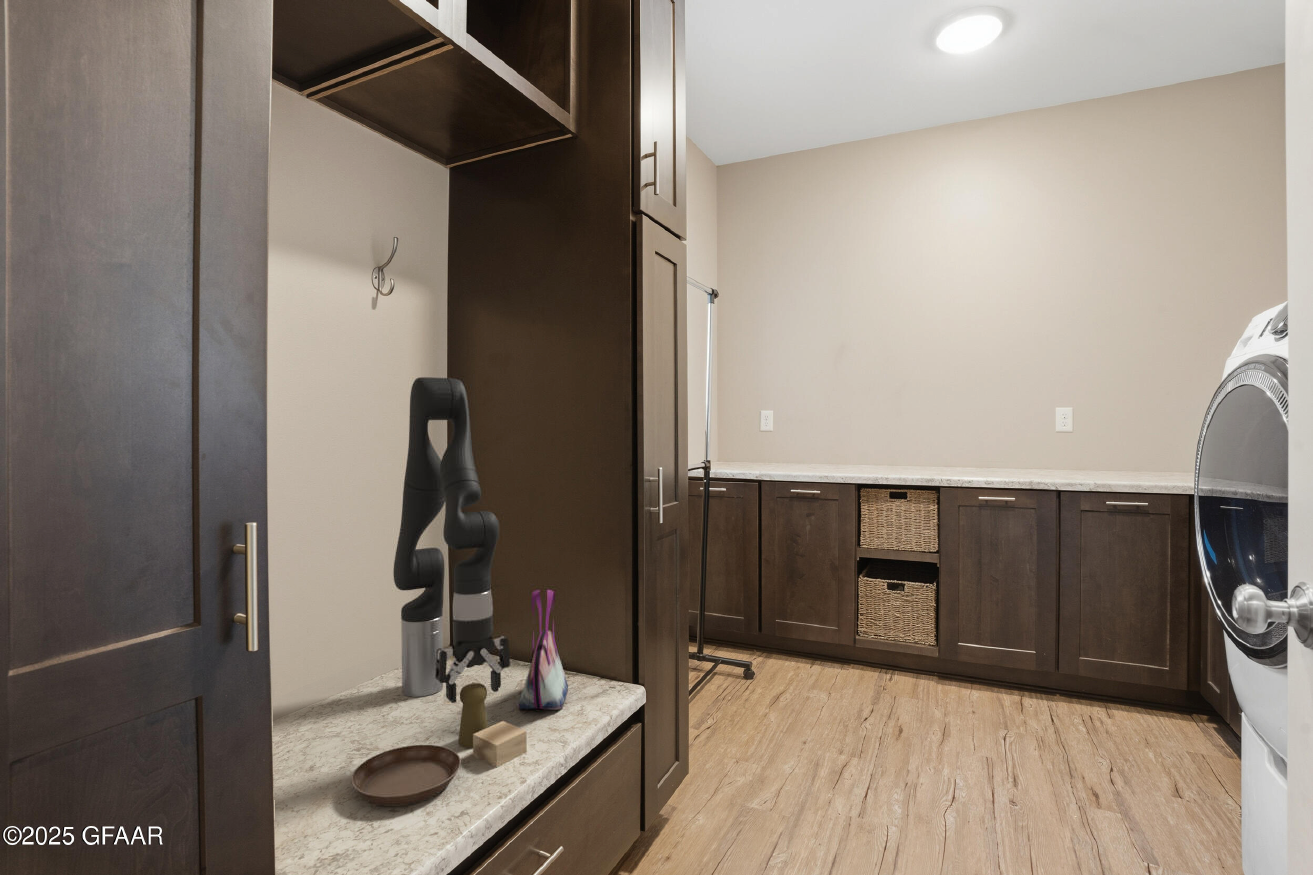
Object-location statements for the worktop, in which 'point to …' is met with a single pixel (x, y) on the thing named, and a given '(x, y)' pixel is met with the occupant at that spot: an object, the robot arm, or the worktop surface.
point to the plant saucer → (406, 774)
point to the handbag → (544, 667)
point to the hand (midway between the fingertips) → (474, 696)
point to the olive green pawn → (472, 713)
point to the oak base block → (499, 743)
